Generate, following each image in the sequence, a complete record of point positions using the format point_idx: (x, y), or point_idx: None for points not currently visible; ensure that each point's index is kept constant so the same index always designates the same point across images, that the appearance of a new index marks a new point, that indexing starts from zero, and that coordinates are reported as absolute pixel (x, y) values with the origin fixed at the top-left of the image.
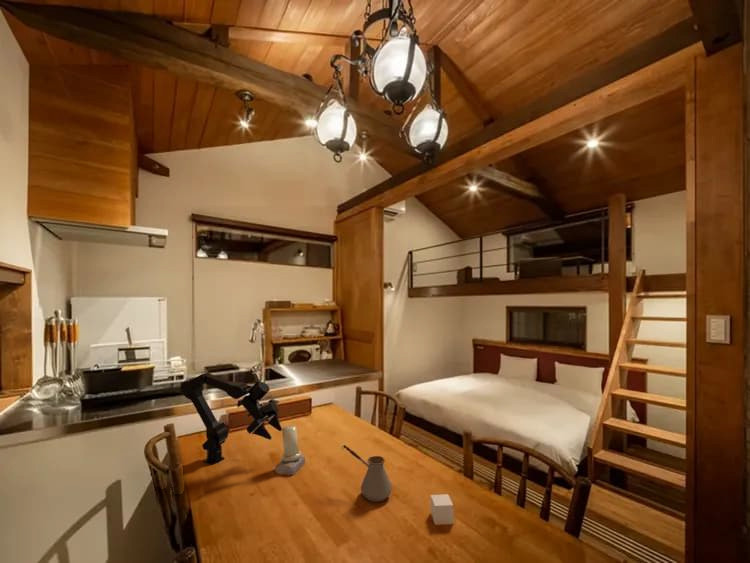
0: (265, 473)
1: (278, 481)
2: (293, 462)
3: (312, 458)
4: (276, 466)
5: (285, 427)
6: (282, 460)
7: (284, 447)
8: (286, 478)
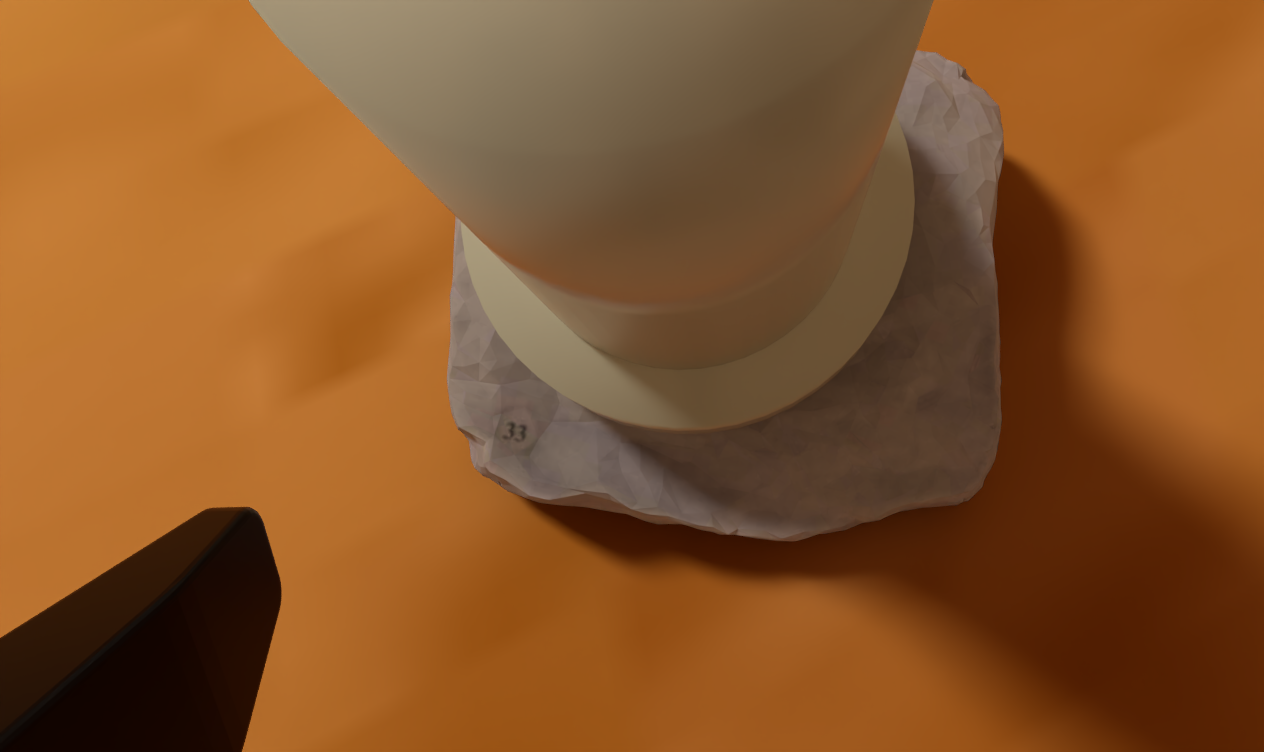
0: (1056, 682)
1: (1232, 283)
2: None
3: (317, 89)
4: (987, 457)
5: (471, 43)
6: (666, 486)
7: (847, 231)
8: (1092, 199)
